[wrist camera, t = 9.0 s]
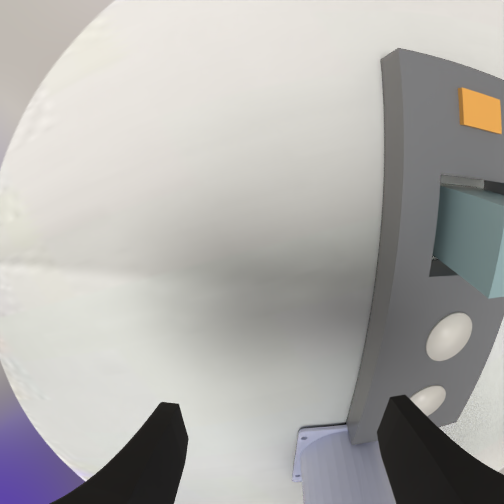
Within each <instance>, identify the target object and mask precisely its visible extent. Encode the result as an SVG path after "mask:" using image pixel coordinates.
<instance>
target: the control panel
mask: <svg viewBox="0 0 504 504" xmlns="http://www.w3.org/2000/svg"><path fill="white" fill-rule="evenodd" d="M381 68H382V81H383V98H384V129H385V161H384V192H383V210H382V224H381V236H380V246H379V256H378V265H377V273H376V281H375V288H374V295H373V301H372V308H371V314H370V320H369V326H368V331H367V336H366V342H365V347H364V352H363V357H362V361H361V366H360V370H359V375H358V379H357V383H356V387H355V392H354V396H353V399H352V403H351V407H350V411H349V414H348V418H347V422H346V424H347V428H348V432H349V436H350V440H351V444H352V445H355V444H362V443H368V442H375V441H378V437H377V430H378V428H379V425H380V423H381V420H382V417H383V415H384V412H385V409H386V407H387V404H388V401H389V398H390V397H393V396H399V395H406V396H407V397H408V398H409V399H410V400H411V401H412V402H413V403H414V404H415V405H416V406H417V407H418V408H419V409H420V410H421V411H422V412H423V413H424V414H425V415H426V416H427V417H428V418H429V419H430V420H431V421H432V422H433V423H434V424H435V425H436V426H437V427H441V426H444V425H448V424H451V423H454V422H456V421H457V420H458V418H459V416H460V414H461V412H462V411H463V409H464V407H465V405H466V403H467V401H468V399H469V397H470V396H471V394H472V392H473V390H474V388H475V385H476V383H477V381H478V379H479V377H480V375H481V373H482V370H483V368H484V366H485V364H486V361H487V359H488V357H489V354H490V352H491V349H492V347H493V344H494V342H495V339H496V336H497V334H498V331H499V328H500V325H501V322H502V319H503V316H504V297H497V298H490V299H488V298H487V297H486V296H484V295H483V294H482V293H481V292H480V291H478V290H477V289H476V288H475V287H473V286H472V285H471V284H470V283H468V282H467V281H466V280H465V279H463V278H462V277H461V276H460V275H458V274H457V273H456V272H454V271H453V270H452V269H450V268H449V267H448V266H447V265H445V264H444V263H443V262H441V261H440V260H432V255H433V249H434V242H435V234H436V226H437V217H438V207H439V195H440V180H441V175H449V176H458V177H466V178H473V179H480V180H485V190H488V191H492V192H495V193H498V194H501V195H504V80H502V79H500V78H497V77H495V76H492V75H490V74H487V73H484V72H482V71H479V70H476V69H473V68H471V67H468V66H465V65H462V64H458V63H455V62H452V61H449V60H445V59H442V58H438V57H435V56H431V55H427V54H423V53H419V52H415V51H410V50H406V49H401V48H397V49H396V50H394V51H393V52H391V53H390V54H388V55H387V56H386V57H384V58H383V59H381Z"/></svg>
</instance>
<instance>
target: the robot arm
mask: <svg viewBox="0 0 504 504" xmlns="http://www.w3.org/2000/svg"><path fill="white" fill-rule="evenodd" d="M377 437H378V441H375V442H368V443H362V444H355V445H352V444H351V440H350V436H349V432H348V428H347V425H339V426H328V427H316V428H304V429H301V430H299V432H298V439H297V446H296V453H295V460H294V467H293V473H292V481H293V482H302V488H303V501H304V504H504V475H503V474H501V473H499V472H497V471H495V470H493V469H492V468H490V467H488V466H487V465H485V464H483V463H482V462H480V461H479V460H477V459H476V458H474V457H473V456H471V455H470V454H469V453H467V452H466V451H465V450H464V449H462V448H461V447H460V446H459V445H457V444H456V443H455V442H454V441H453V440H452V439H450V438H449V437H448V436H447V435H446V434H445V433H444V432H443V431H442V430H441V429H439V428H438V427H437V426H436V425H435V424H434V423H433V422H432V421H431V420H430V419H429V418H428V417H427V416H426V415H425V414H424V413H423V412H422V411H421V410H420V409H419V408H418V407H417V406H416V405H415V404H414V403H413V402H412V401H411V400H410V399H409V398H408V397H407V396H406V395H399V396H393V397H390V398H389V401H388V404H387V407H386V409H385V412H384V415H383V417H382V420H381V423H380V425H379V428H378V430H377ZM187 445H188V435H187V432H186V428H185V425H184V421H183V418H182V414H181V410H180V407H179V404H176V403H166V402H161V403H160V404H159V405H158V407H157V408H156V409H155V410H154V412H153V413H152V414H151V416H150V417H149V418H148V419H147V421H146V422H145V423H144V424H143V426H142V427H141V428H140V429H139V431H138V432H137V433H136V434H135V435H134V436H133V437H132V439H131V440H130V441H129V442H128V443H127V444H126V445H125V446H124V447H123V449H122V450H121V451H120V452H119V453H118V454H117V455H116V456H115V457H114V458H113V459H112V460H111V461H110V462H109V463H107V464H106V465H105V466H104V467H103V468H102V469H101V470H100V471H98V472H97V473H96V474H95V475H94V476H92V477H91V478H90V479H89V480H87V481H86V482H85V483H83V484H82V485H80V486H79V487H78V488H76V489H75V490H73V491H72V492H70V493H68V494H67V495H65V496H63V497H61V498H60V499H58V500H56V501H54V502H52V503H50V504H174V501H175V497H176V494H177V490H178V487H179V483H180V479H181V476H182V472H183V468H184V465H185V460H186V453H187Z"/></svg>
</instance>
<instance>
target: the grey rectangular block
mask: <svg viewBox="0 0 504 504" xmlns="http://www.w3.org/2000/svg"><path fill="white" fill-rule="evenodd" d="M433 256H434V257H436V258H437V259H439V260H440V261H441V262H443V263H444V264H445V265H447V266H448V267H449V268H450V269H452V270H453V271H454V272H456V273H457V274H458V275H460V276H461V277H462V278H463V279H465V280H466V281H467V282H468V283H470V284H471V285H472V286H473V287H475V288H476V289H477V290H478V291H480V292H481V293H482V294H483V295H484V296H486V297H487V298H488V299H490V298H497V297H504V195H501V194H498V193H495V192H492V191H488V190H485V189H481V188H478V187H471V186H462V185H452V184H441V183H440V195H439V207H438V217H437V226H436V234H435V242H434V249H433Z"/></svg>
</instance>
